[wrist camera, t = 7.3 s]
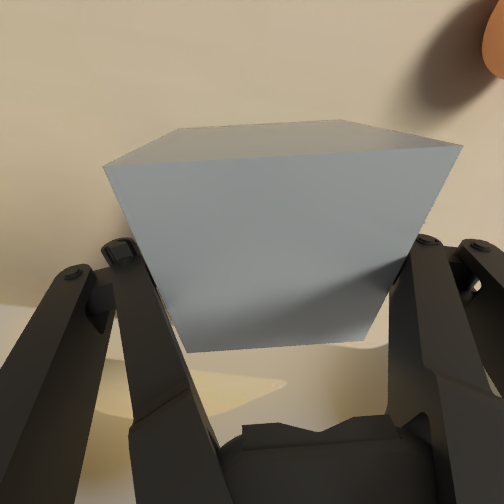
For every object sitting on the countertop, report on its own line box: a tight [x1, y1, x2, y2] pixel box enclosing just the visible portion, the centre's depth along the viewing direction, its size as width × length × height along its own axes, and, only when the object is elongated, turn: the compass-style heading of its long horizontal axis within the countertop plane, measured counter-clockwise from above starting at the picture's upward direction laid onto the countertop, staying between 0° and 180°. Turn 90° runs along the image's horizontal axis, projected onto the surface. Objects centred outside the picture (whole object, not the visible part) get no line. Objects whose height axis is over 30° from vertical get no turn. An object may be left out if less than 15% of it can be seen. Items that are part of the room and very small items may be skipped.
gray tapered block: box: [102, 120, 463, 353], centre depth 12 cm, size 10×10×9 cm
